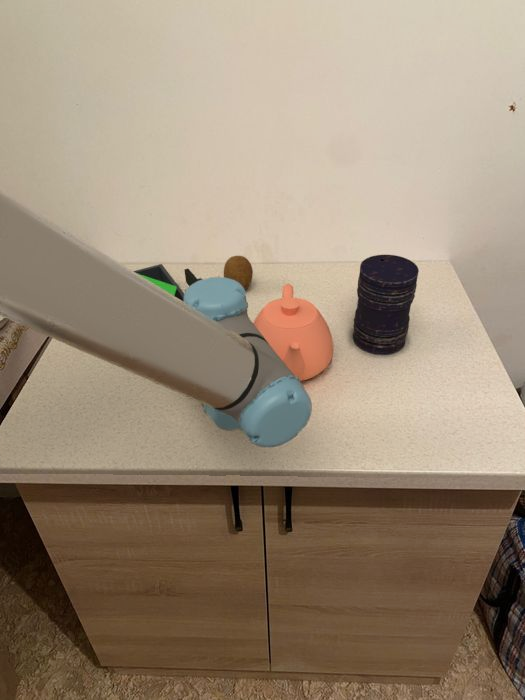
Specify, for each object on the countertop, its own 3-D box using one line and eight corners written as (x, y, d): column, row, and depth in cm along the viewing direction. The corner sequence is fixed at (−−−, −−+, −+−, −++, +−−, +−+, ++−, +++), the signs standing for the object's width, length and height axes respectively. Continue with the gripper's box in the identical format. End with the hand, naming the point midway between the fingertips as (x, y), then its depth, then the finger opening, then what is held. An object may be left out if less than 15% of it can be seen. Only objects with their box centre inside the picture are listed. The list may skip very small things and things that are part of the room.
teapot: (340, 406, 80) (346, 345, 73) (246, 408, 80) (242, 348, 73) (325, 325, 97) (329, 269, 90) (247, 328, 98) (244, 272, 90)
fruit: (221, 295, 107) (218, 262, 102) (229, 280, 112) (226, 248, 107) (249, 298, 106) (247, 264, 101) (256, 283, 111) (255, 250, 106)
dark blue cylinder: (415, 350, 91) (430, 278, 81) (364, 359, 89) (373, 287, 80) (391, 320, 98) (403, 251, 89) (344, 327, 97) (350, 258, 88)
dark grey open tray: (129, 348, 93) (124, 327, 90) (104, 299, 107) (98, 279, 104) (197, 327, 98) (195, 307, 95) (164, 282, 112) (161, 263, 109)
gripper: (119, 395, 73) (86, 322, 88) (269, 343, 82) (217, 284, 97) (108, 355, 68) (75, 285, 83) (269, 304, 77) (213, 249, 92)
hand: (151, 284), depth 90 cm, fingers open, 13 cm apart
